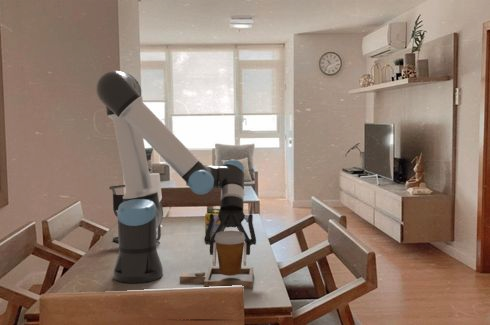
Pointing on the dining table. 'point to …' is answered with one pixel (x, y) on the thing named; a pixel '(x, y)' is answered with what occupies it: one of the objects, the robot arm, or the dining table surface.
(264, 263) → the dining table surface
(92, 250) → the dining table surface
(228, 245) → the disposable coffee cup
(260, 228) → the dining table surface
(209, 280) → the tray
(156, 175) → the champagne flute
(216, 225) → the crayon box
